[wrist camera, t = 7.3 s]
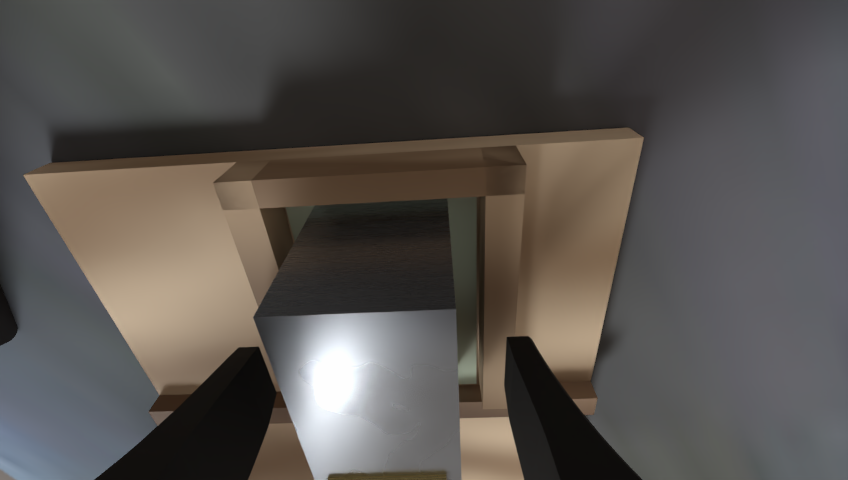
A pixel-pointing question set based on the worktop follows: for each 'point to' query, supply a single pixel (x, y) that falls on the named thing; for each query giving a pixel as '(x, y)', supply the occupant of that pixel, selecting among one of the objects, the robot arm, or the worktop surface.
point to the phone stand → (6, 320)
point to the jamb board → (345, 184)
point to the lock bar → (369, 341)
